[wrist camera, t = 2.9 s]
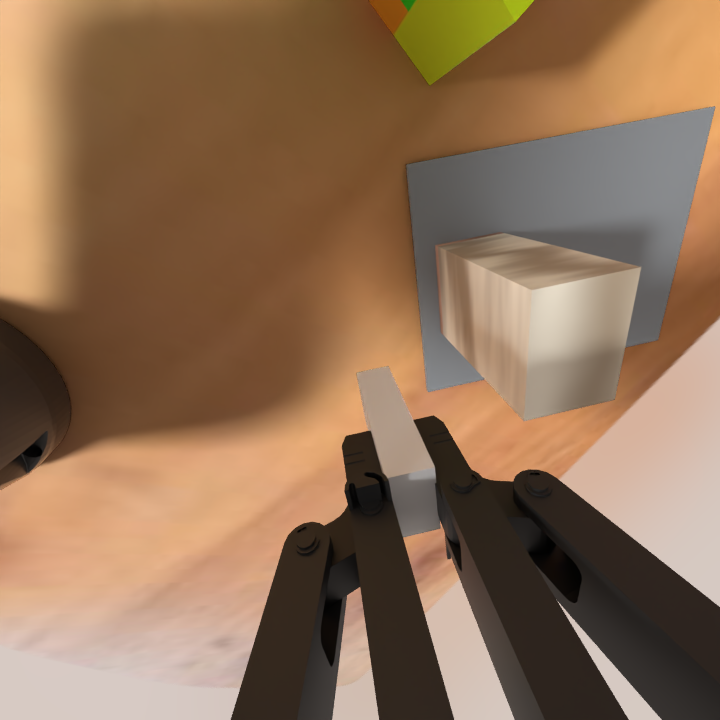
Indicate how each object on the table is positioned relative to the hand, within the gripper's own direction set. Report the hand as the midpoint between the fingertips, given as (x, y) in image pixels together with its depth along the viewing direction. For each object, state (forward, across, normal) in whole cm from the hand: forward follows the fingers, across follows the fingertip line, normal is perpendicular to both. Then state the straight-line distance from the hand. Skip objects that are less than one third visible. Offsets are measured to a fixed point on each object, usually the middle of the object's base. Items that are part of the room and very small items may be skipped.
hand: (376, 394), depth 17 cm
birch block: (+12, +10, 0) cm, 15 cm away
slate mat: (+13, +17, 0) cm, 21 cm away
